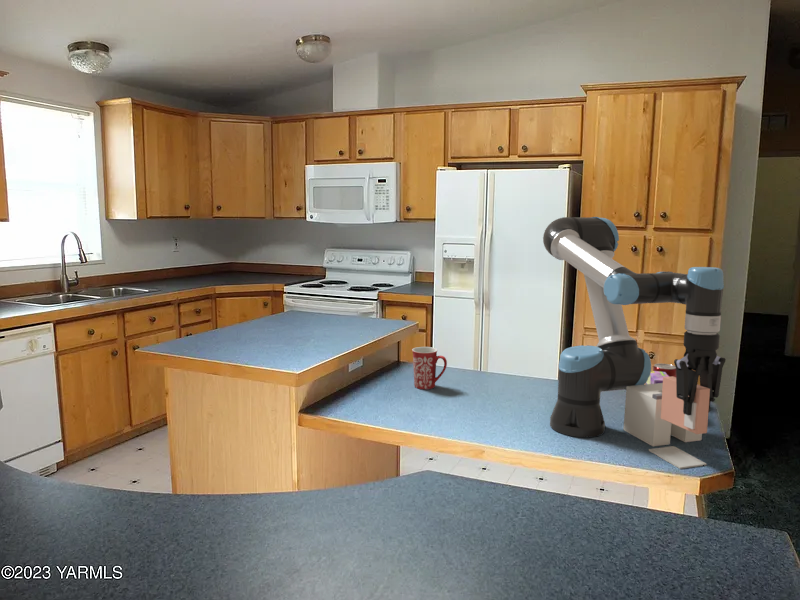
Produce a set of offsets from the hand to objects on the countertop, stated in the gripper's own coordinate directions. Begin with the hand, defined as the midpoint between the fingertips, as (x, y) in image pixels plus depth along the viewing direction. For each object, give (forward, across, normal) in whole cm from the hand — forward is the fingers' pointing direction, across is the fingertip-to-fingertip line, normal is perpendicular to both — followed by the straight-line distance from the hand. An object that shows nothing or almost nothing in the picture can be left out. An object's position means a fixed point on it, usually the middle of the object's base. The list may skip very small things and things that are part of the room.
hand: (695, 426), depth 138 cm
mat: (+10, 0, +5) cm, 11 cm away
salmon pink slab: (+1, 0, +4) cm, 4 cm away
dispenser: (+10, +7, +18) cm, 22 cm away
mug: (+8, -42, +77) cm, 88 cm away
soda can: (+9, +28, +42) cm, 52 cm away
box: (+9, +19, +34) cm, 40 cm away
